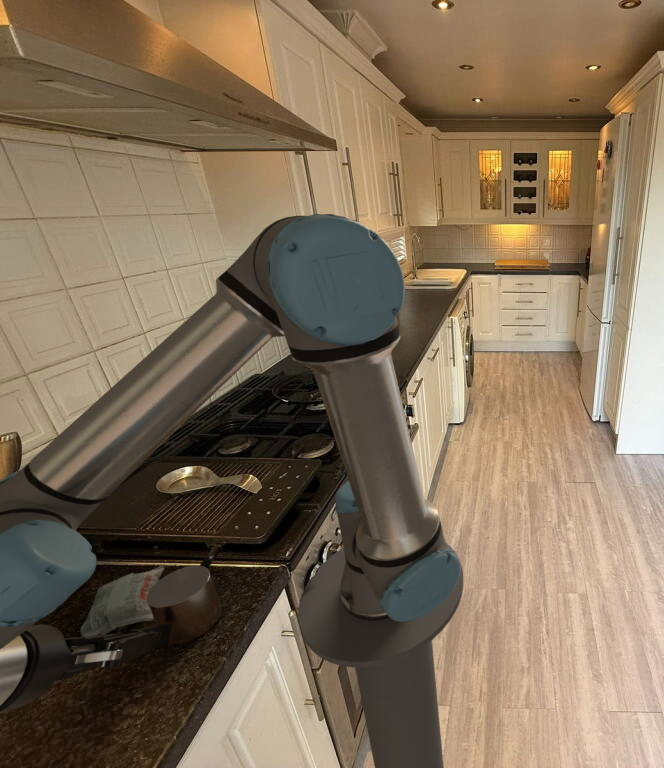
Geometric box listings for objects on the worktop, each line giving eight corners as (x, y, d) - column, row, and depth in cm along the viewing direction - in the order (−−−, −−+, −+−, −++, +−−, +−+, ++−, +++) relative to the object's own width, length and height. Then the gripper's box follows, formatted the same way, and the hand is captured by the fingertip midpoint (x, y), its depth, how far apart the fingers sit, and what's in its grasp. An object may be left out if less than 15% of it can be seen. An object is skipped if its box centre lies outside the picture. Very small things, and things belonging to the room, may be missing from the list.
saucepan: (250, 568, 78) (240, 535, 75) (204, 641, 64) (190, 604, 61) (205, 572, 77) (193, 538, 74) (149, 646, 63) (132, 609, 61)
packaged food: (168, 576, 76) (159, 556, 74) (157, 627, 66) (146, 605, 65) (106, 597, 72) (95, 576, 70) (84, 654, 62) (71, 632, 61)
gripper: (-106, 725, 38) (109, 666, 59) (44, 717, 39) (203, 661, 60) (-64, 632, 41) (127, 608, 62) (75, 626, 42) (216, 604, 63)
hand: (164, 634), depth 61 cm, fingers closed
